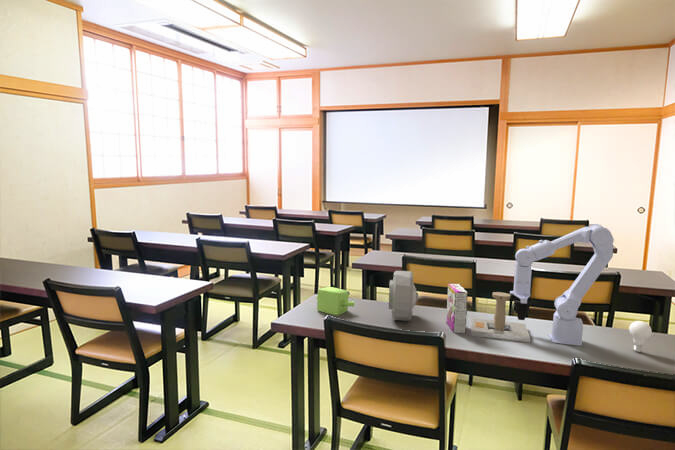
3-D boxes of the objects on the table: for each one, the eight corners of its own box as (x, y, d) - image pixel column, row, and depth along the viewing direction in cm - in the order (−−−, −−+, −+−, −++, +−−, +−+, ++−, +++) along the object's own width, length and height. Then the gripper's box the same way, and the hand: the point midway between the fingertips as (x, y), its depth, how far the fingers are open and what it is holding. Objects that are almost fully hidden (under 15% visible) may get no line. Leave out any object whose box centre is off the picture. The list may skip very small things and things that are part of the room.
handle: (490, 328, 169) (492, 291, 167) (508, 331, 166) (510, 293, 164) (489, 332, 164) (492, 294, 162) (507, 335, 162) (510, 297, 160)
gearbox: (358, 313, 186) (360, 291, 185) (346, 318, 178) (347, 296, 177) (324, 304, 196) (325, 283, 195) (311, 309, 187) (312, 287, 186)
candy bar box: (445, 322, 174) (447, 283, 172) (457, 323, 174) (459, 283, 172) (452, 333, 163) (455, 291, 161) (466, 333, 163) (468, 291, 161)
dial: (417, 329, 167) (420, 278, 164) (387, 326, 169) (389, 277, 166) (416, 311, 187) (418, 266, 184) (389, 309, 189) (391, 265, 186)
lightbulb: (639, 348, 153) (643, 318, 151) (653, 355, 146) (657, 324, 145) (622, 347, 152) (625, 318, 151) (635, 355, 146) (638, 324, 145)
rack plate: (524, 328, 169) (524, 323, 169) (529, 342, 156) (530, 336, 156) (471, 322, 175) (471, 317, 174) (471, 335, 161) (472, 330, 161)
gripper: (508, 275, 169) (506, 309, 170) (513, 285, 155) (510, 321, 157) (528, 277, 167) (525, 310, 169) (534, 287, 153) (531, 323, 155)
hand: (519, 316), depth 162 cm, fingers open, 7 cm apart
